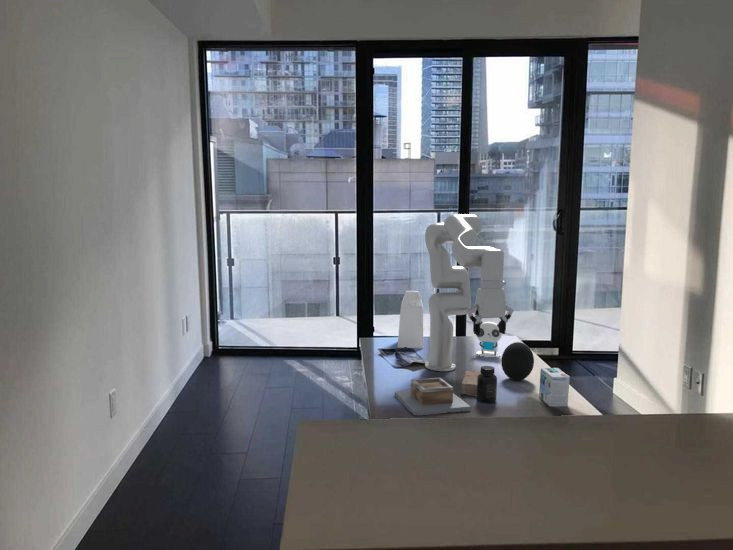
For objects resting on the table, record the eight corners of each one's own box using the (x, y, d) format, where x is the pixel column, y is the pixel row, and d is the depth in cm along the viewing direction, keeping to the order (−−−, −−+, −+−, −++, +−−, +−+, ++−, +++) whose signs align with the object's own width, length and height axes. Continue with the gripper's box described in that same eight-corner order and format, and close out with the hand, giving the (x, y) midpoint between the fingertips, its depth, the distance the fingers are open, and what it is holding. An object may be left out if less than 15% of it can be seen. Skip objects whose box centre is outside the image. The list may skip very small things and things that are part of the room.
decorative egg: (496, 375, 241) (498, 338, 239) (526, 374, 242) (528, 338, 240) (506, 384, 229) (508, 346, 227) (537, 384, 230) (539, 346, 228)
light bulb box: (538, 396, 217) (540, 367, 215) (556, 396, 217) (558, 367, 216) (549, 406, 206) (551, 376, 205) (568, 406, 207) (570, 376, 205)
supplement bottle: (497, 398, 213) (499, 366, 212) (494, 405, 207) (496, 371, 205) (477, 396, 215) (479, 363, 214) (474, 402, 209) (476, 369, 207)
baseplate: (394, 395, 214) (394, 391, 214) (446, 391, 220) (446, 387, 220) (414, 415, 195) (414, 411, 195) (470, 410, 201) (470, 406, 201)
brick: (484, 397, 215) (484, 384, 215) (460, 395, 217) (461, 382, 217) (486, 384, 231) (487, 372, 230) (464, 381, 233) (465, 370, 233)
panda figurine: (472, 355, 270) (473, 322, 268) (478, 349, 280) (479, 318, 278) (498, 358, 265) (500, 325, 263) (503, 352, 275) (505, 320, 273)
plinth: (410, 394, 211) (411, 379, 210) (439, 392, 214) (440, 377, 213) (422, 405, 200) (422, 389, 200) (452, 402, 204) (453, 387, 203)
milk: (423, 342, 292) (425, 289, 288) (423, 348, 280) (425, 293, 277) (398, 341, 293) (400, 288, 289) (397, 347, 281) (399, 292, 278)
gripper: (508, 282, 212) (506, 330, 214) (463, 284, 207) (461, 332, 209) (519, 285, 205) (517, 335, 207) (473, 287, 200) (471, 337, 202)
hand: (489, 333), depth 208 cm, fingers open, 9 cm apart
